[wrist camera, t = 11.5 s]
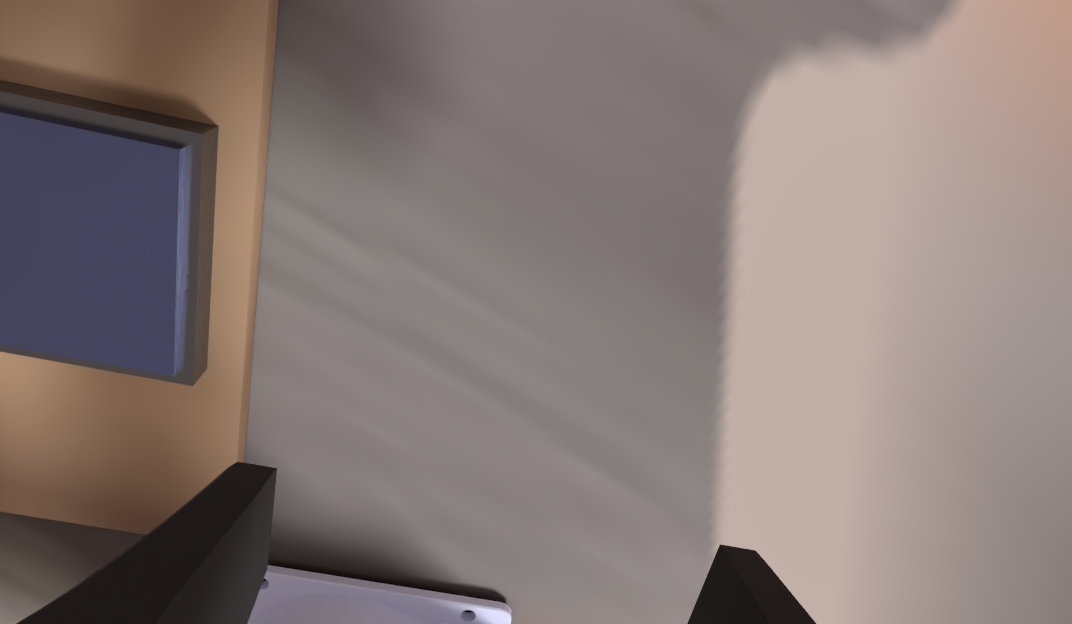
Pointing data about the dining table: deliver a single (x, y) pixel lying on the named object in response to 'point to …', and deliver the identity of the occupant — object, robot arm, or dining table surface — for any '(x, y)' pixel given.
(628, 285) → the dining table surface
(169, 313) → the ink pad
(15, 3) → the stamping board
